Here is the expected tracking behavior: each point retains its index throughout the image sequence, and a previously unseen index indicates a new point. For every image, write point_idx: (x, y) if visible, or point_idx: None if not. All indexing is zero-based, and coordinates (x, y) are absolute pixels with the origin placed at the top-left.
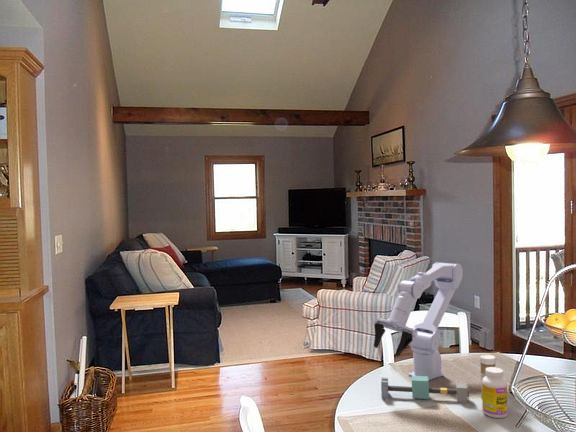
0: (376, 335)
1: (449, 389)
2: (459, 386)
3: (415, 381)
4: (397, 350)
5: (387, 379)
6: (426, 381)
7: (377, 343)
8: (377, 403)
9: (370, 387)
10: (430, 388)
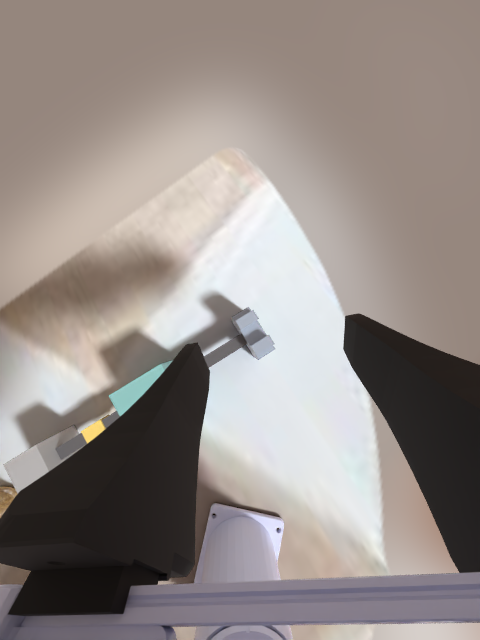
0: (419, 350)
1: (78, 442)
2: (32, 461)
3: (151, 369)
4: (185, 352)
5: (251, 345)
6: (116, 391)
7: (358, 348)
8: (238, 283)
9: (312, 356)
10: None
